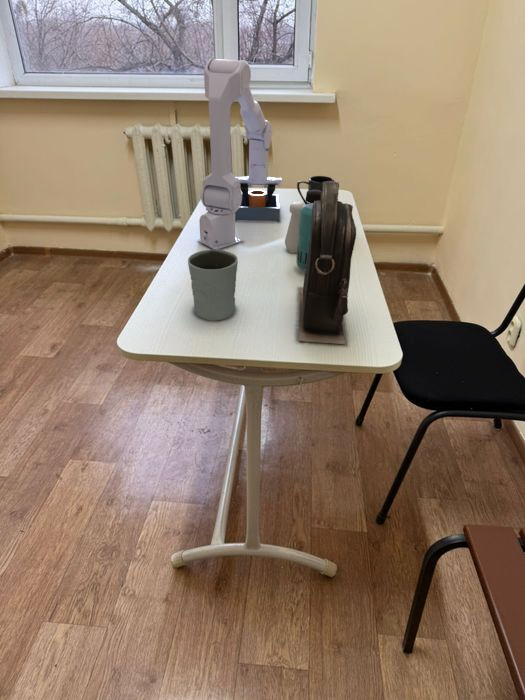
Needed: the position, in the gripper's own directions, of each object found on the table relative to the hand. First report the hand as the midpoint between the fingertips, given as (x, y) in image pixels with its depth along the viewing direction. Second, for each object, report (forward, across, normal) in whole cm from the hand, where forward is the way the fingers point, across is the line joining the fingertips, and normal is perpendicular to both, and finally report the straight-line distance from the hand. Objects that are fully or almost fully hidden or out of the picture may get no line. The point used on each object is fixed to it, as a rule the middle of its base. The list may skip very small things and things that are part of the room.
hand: (257, 207), depth 151 cm
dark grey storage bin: (+2, 0, 0) cm, 2 cm away
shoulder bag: (+2, -14, +61) cm, 63 cm away
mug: (+2, -19, -7) cm, 20 cm away
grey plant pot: (+2, +9, +60) cm, 61 cm away
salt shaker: (+2, -10, +28) cm, 30 cm away
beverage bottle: (+2, -13, +40) cm, 42 cm away
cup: (+2, 0, 0) cm, 2 cm away
